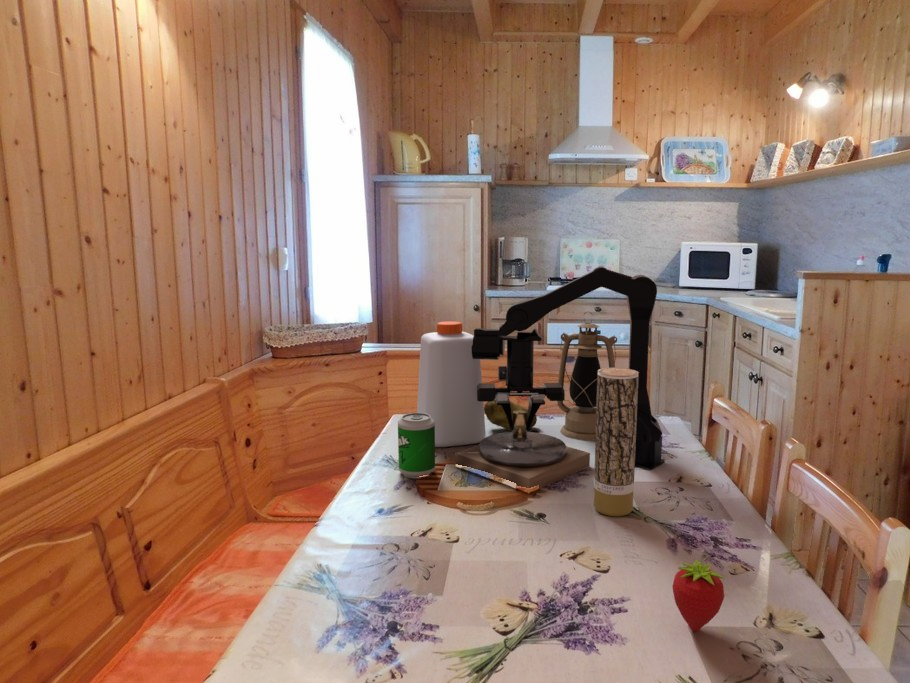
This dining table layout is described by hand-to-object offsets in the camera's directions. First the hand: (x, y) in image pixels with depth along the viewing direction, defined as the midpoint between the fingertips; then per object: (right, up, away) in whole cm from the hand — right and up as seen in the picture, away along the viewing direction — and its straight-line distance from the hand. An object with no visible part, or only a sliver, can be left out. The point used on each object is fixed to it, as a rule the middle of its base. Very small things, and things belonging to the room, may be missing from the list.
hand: (519, 430), depth 139 cm
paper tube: (+14, -11, -27) cm, 32 cm away
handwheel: (0, -4, -6) cm, 8 cm away
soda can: (-22, -8, -9) cm, 25 cm away
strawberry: (+15, -16, -61) cm, 65 cm away
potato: (0, -3, +20) cm, 20 cm away
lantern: (+18, -3, +17) cm, 25 cm away
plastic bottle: (-15, -4, +14) cm, 21 cm away
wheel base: (0, -7, -6) cm, 9 cm away
